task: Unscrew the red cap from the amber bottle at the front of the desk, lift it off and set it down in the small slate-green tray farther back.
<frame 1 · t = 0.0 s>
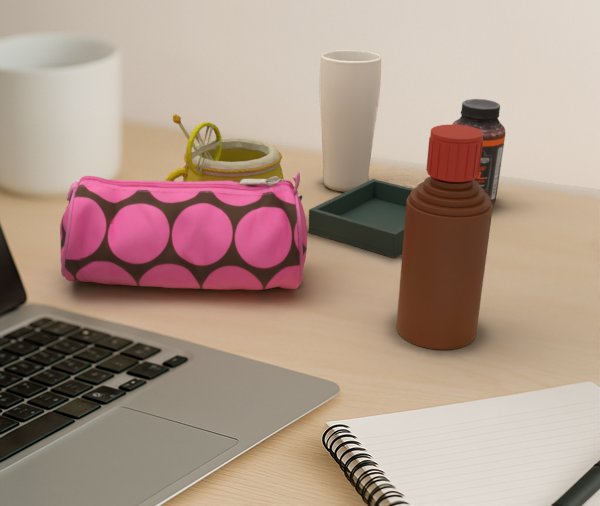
yellow round vessel: (224, 226, 86), on the table
bottle: (435, 329, 67), on the table
supplement bottle: (468, 205, 93), on the table
tray: (382, 226, 86), on the table
cap: (456, 135, 60), point 16 cm above the table, screwed on, not yet turned
drinking glass: (345, 187, 97), on the table
pencil case: (186, 282, 74), on the table
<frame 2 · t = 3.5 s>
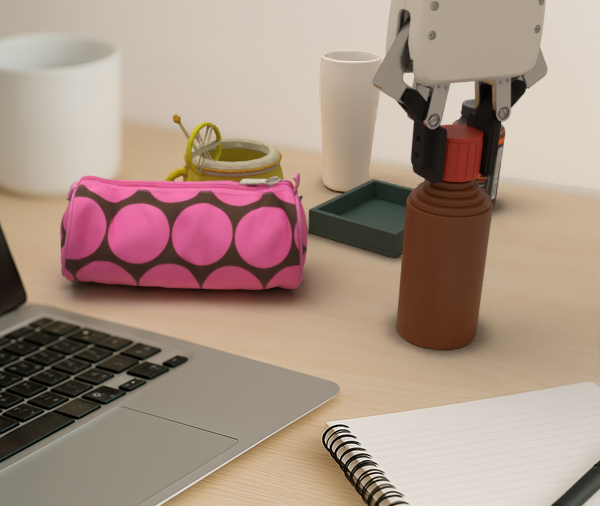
hand: (452, 171, 61), 13 cm above the table, tool pointing down, fingers closed on cap, 3 cm apart
cap: (456, 135, 60), point 16 cm above the table, screwed on, not yet turned, touching gripper
everything else where it was.
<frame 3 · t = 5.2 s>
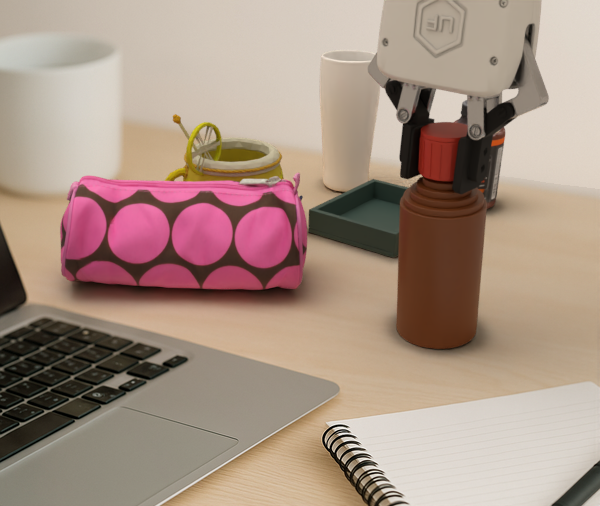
hand: (440, 179, 61), 13 cm above the table, tool pointing down, fingers closed on cap, 3 cm apart
bottle: (436, 327, 67), on the table, touching gripper
cap: (447, 133, 59), point 16 cm above the table, turned 117° so far, risen 0.1 cm, still on its thread, touching gripper
everything else where it was.
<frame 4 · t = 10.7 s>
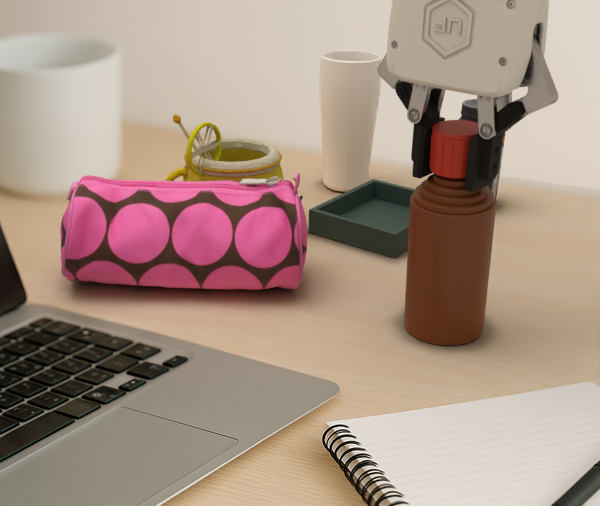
hand: (452, 177, 61), 13 cm above the table, tool pointing down, fingers closed on cap, 3 cm apart
bottle: (443, 324, 68), on the table
cap: (458, 131, 60), point 16 cm above the table, turned 117° so far, risen 0.1 cm, still on its thread, touching gripper
everything else where it was.
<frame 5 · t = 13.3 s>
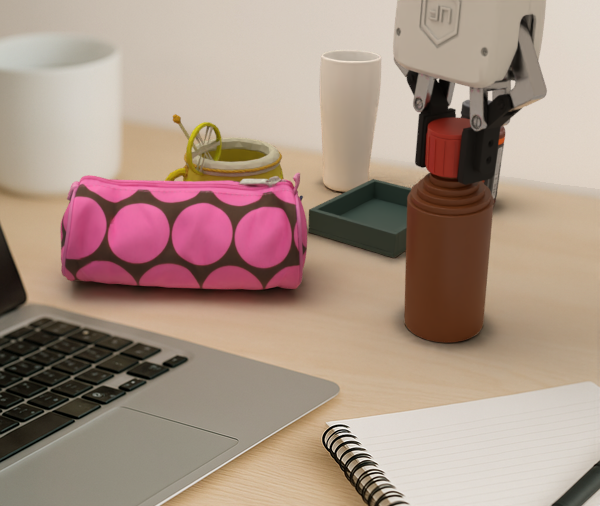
hand: (454, 169, 61), 14 cm above the table, tool pointing down, fingers closed on cap, 3 cm apart
cap: (453, 130, 59), point 17 cm above the table, tilted 5°, turned 218° so far, risen 0.2 cm, still on its thread, touching gripper
everything else where it was.
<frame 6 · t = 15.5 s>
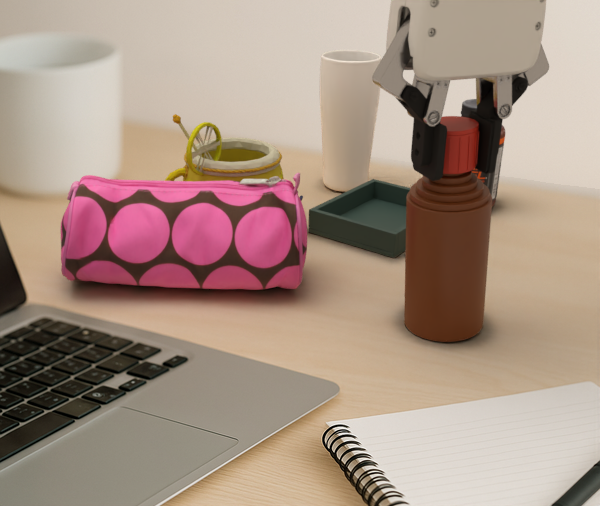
hand: (453, 168, 61), 14 cm above the table, tool pointing down, fingers closed on cap, 3 cm apart
cap: (452, 127, 60), point 17 cm above the table, turned 234° so far, risen 0.2 cm, still on its thread, touching gripper
everything else where it was.
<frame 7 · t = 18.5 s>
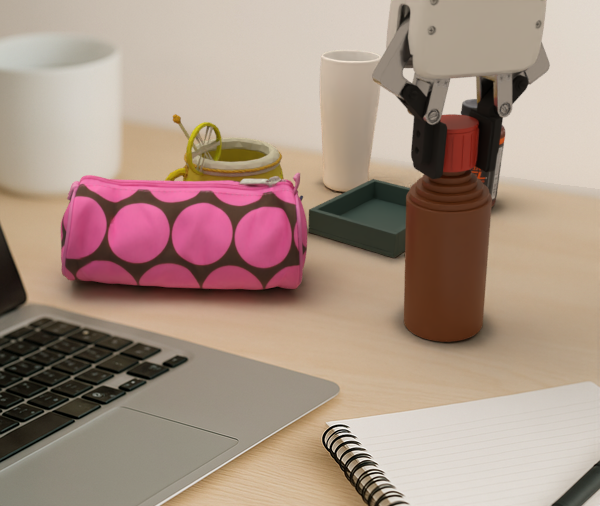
hand: (453, 167, 61), 14 cm above the table, tool pointing down, fingers closed on cap, 3 cm apart
cap: (452, 125, 60), point 17 cm above the table, turned 354° so far, risen 0.4 cm, still on its thread, touching gripper
everything else where it was.
when the fingers open (3 cm above the table, at t = 28.9 s): cap drops 3 cm, resting on tray.
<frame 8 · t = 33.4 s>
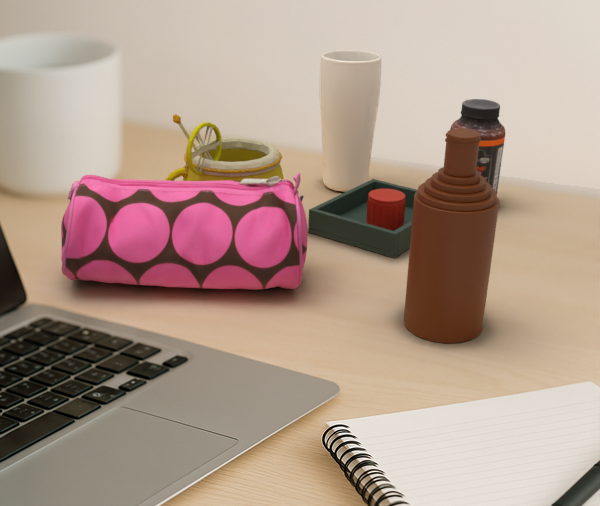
cap: (386, 197, 84), point 3 cm above the table, off its thread, touching tray
at the end: cap came off its thread; cap inside the target area on the tray (0.6 cm from its centre), point 3.4 cm above the tray's base; the gripper is holding nothing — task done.
